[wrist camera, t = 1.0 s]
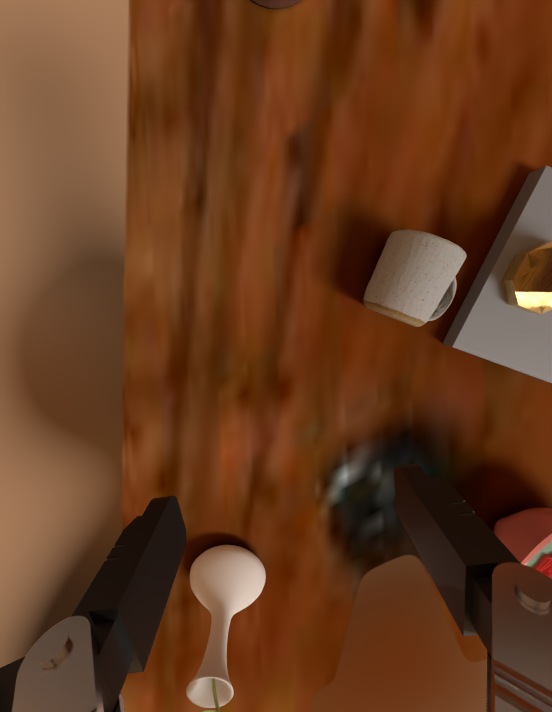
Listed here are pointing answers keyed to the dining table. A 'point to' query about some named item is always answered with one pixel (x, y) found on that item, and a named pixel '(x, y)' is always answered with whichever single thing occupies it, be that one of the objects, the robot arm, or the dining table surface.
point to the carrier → (487, 299)
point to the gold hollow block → (530, 279)
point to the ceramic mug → (414, 277)
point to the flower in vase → (221, 614)
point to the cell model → (528, 537)
